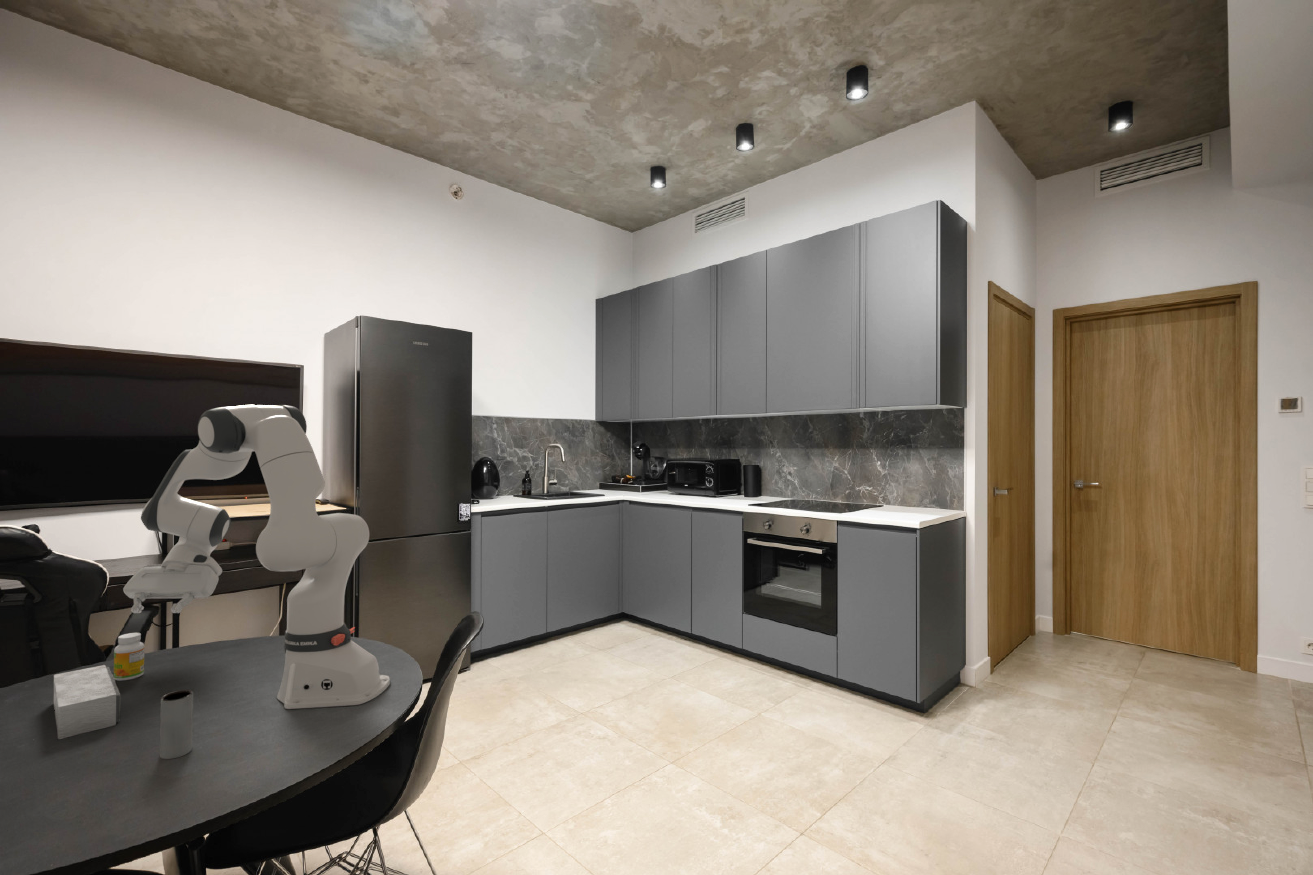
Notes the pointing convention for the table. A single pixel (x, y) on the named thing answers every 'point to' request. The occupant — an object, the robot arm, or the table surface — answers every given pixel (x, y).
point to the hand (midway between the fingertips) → (154, 611)
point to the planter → (176, 724)
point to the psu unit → (85, 701)
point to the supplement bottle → (129, 657)
